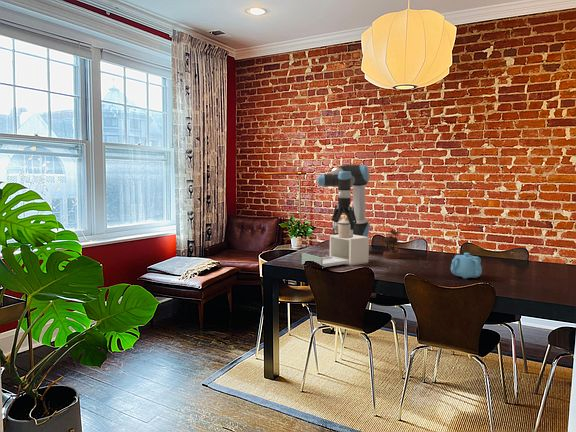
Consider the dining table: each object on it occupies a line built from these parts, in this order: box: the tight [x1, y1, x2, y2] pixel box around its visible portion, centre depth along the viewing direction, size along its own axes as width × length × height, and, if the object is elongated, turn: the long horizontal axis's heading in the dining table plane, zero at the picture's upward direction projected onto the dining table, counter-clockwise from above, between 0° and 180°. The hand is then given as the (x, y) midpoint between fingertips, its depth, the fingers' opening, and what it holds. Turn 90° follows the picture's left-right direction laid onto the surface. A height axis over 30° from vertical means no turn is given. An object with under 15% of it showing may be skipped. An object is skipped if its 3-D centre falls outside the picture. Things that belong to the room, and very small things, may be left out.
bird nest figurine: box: [381, 228, 401, 260], centre depth 296 cm, size 15×11×20 cm
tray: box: [301, 252, 349, 268], centre depth 271 cm, size 19×24×7 cm
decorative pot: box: [450, 252, 483, 280], centre depth 243 cm, size 16×16×14 cm
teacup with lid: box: [335, 217, 353, 238], centre depth 256 cm, size 12×9×12 cm
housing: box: [329, 234, 370, 267], centre depth 282 cm, size 20×16×17 cm
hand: (343, 234), depth 257 cm, fingers closed on teacup with lid, 11 cm apart
